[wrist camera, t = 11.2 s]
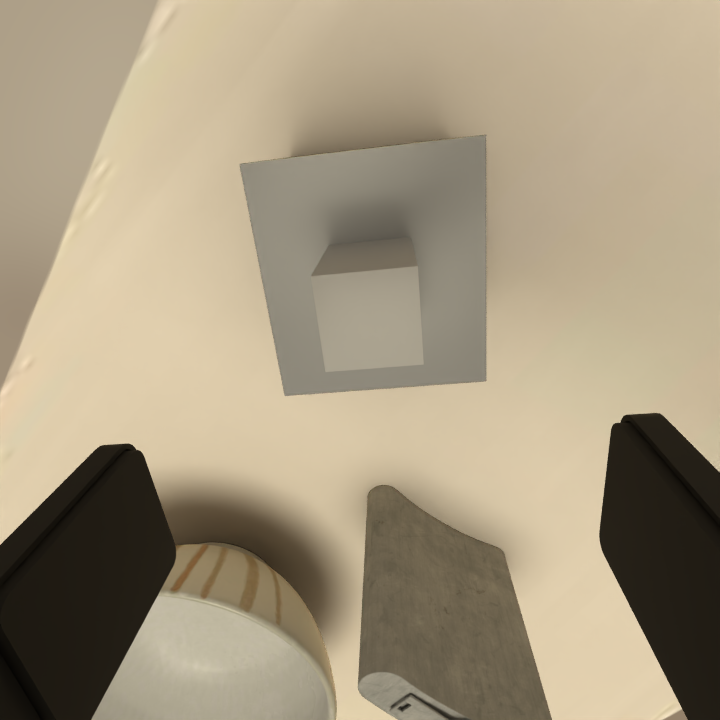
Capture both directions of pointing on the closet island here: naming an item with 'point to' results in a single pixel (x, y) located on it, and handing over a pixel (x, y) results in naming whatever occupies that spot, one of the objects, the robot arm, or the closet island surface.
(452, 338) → the grey stepped block
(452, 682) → the hip flask
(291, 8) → the closet island surface
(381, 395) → the closet island surface
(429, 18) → the closet island surface
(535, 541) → the closet island surface
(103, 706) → the decorative bowl
